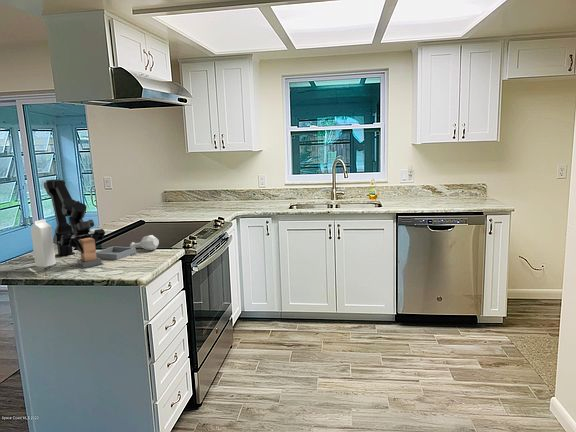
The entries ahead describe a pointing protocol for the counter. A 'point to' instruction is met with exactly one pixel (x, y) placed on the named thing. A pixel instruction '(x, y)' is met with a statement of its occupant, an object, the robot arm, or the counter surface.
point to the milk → (43, 244)
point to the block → (88, 249)
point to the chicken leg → (147, 243)
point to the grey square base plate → (88, 263)
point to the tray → (115, 252)
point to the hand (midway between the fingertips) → (89, 251)
